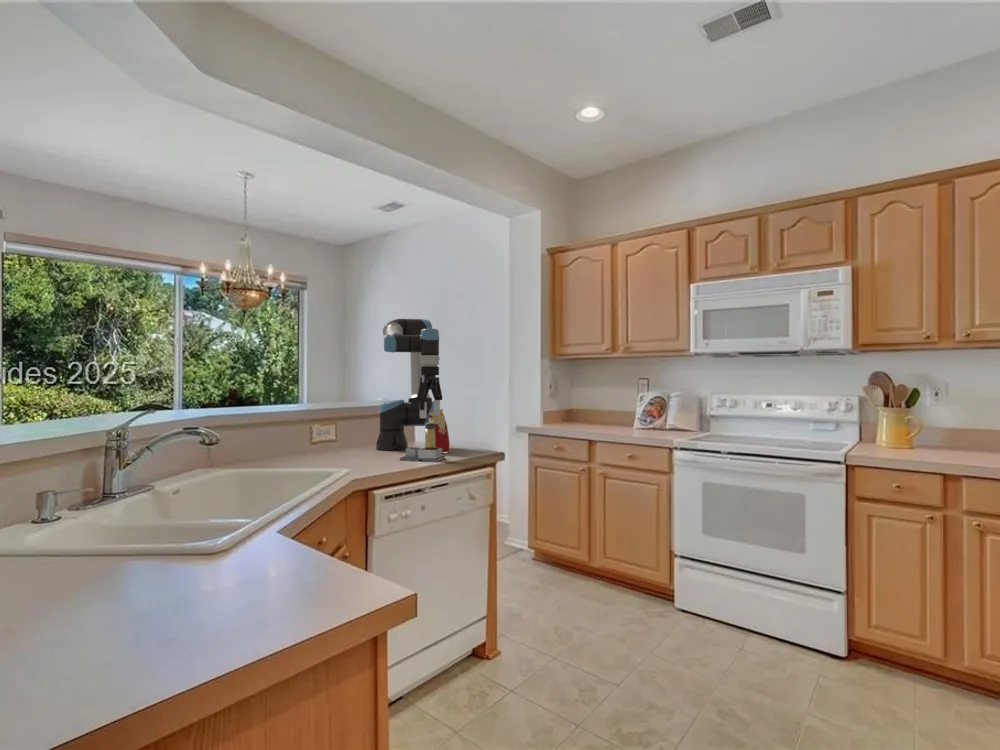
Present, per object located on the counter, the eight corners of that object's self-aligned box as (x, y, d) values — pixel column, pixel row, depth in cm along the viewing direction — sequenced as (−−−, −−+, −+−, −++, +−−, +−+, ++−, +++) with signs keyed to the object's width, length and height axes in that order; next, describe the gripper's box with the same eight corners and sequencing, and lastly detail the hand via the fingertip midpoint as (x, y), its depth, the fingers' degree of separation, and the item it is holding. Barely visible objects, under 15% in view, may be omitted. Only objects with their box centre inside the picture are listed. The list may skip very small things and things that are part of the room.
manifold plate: (410, 456, 223) (410, 446, 223) (445, 458, 218) (445, 447, 218) (399, 460, 213) (399, 449, 213) (435, 461, 209) (435, 450, 209)
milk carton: (442, 450, 242) (442, 408, 242) (450, 453, 234) (450, 408, 234) (424, 452, 237) (424, 408, 237) (432, 454, 229) (432, 409, 229)
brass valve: (427, 456, 217) (427, 423, 217) (436, 456, 216) (436, 423, 216) (423, 457, 214) (423, 423, 214) (432, 458, 212) (432, 424, 212)
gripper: (425, 365, 202) (425, 419, 202) (449, 366, 226) (449, 414, 226) (408, 365, 204) (408, 419, 204) (434, 366, 228) (434, 414, 228)
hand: (430, 416), depth 215 cm, fingers open, 13 cm apart
